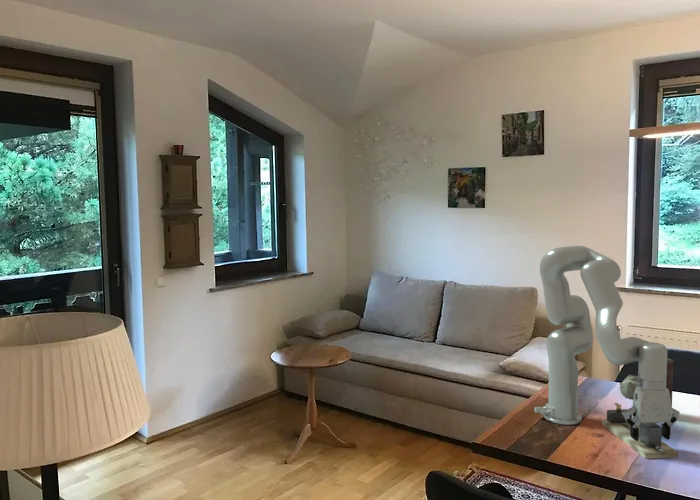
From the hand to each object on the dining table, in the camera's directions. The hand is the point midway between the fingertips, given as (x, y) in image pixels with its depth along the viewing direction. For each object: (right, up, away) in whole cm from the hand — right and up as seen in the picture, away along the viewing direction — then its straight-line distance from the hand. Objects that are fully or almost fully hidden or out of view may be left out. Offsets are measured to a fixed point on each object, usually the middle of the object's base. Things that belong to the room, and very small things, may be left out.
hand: (650, 438), depth 175 cm
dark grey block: (0, -2, -2) cm, 3 cm away
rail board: (0, -3, +7) cm, 8 cm away
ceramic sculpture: (+18, +1, +48) cm, 51 cm away
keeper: (-1, 0, +19) cm, 19 cm away
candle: (+18, -1, +27) cm, 32 cm away
